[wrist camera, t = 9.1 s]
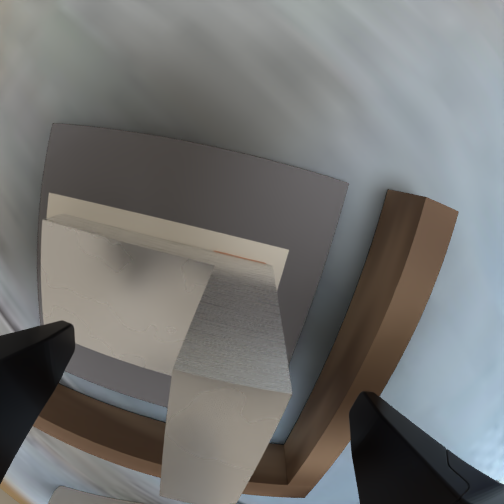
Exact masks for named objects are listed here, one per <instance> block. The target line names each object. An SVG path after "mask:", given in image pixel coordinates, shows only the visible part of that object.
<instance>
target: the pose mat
mask: <svg viewBox="0 0 504 504" xmlns="http://www.w3.org/2000/svg"><path fill="white" fill-rule="evenodd" d="M348 185H349V183H347V182H343V181H340V180H337V179H334V178H331V177H328V176H324V175H321V174H318V173H314V172H311V171H308V170H304V169H301V168H297V167H294V166H290V165H286V164H283V163H279V162H275V161H271V160H268V159H264V158H260V157H256V156H252V155H248V154H244V153H239V152H235V151H231V150H226V149H222V148H217V147H213V146H208V145H203V144H198V143H193V142H188V141H183V140H178V139H172V138H167V137H161V136H155V135H149V134H143V133H136V132H130V131H123V130H115V129H108V128H100V127H91V126H81V125H71V124H60V123H53V124H52V128H51V133H50V138H49V143H48V148H47V154H46V160H45V166H44V173H43V180H42V188H41V198H40V208H39V222H38V244H37V279H38V301H39V315H40V326H41V325H44V322H43V310H42V293H41V234H42V220H43V219H46V218H49V217H53V216H56V215H59V214H67V215H71V216H75V217H79V218H83V219H87V220H90V221H94V222H98V223H102V224H106V225H110V226H114V227H118V228H122V229H126V230H130V231H134V232H138V233H142V234H146V235H150V236H154V237H158V238H162V239H166V240H170V241H174V242H178V243H182V244H186V245H190V246H194V247H198V248H202V249H206V250H210V251H214V252H218V253H222V254H226V255H230V256H234V257H238V258H243V259H247V260H251V261H255V262H259V263H263V264H267V265H271V266H273V272H274V278H275V284H276V291H277V297H278V303H279V309H280V316H281V322H282V328H283V335H284V341H285V348H286V354H287V361H288V365H289V362H290V360H291V357H292V355H293V352H294V350H295V347H296V344H297V342H298V339H299V337H300V334H301V331H302V328H303V326H304V323H305V320H306V318H307V315H308V312H309V309H310V306H311V304H312V301H313V298H314V295H315V292H316V289H317V286H318V283H319V280H320V277H321V274H322V271H323V268H324V265H325V262H326V259H327V256H328V253H329V250H330V247H331V243H332V240H333V237H334V234H335V230H336V227H337V224H338V220H339V217H340V214H341V210H342V207H343V203H344V200H345V196H346V192H347V189H348ZM65 371H66V372H68V373H70V374H73V375H75V376H77V377H80V378H82V379H85V380H87V381H90V382H92V383H95V384H97V385H100V386H103V387H105V388H108V389H111V390H113V391H116V392H119V393H122V394H125V395H128V396H131V397H134V398H137V399H140V400H143V401H147V402H150V403H153V404H157V405H160V406H164V407H167V408H168V401H169V393H170V386H171V378H172V376H170V375H167V374H163V373H160V372H156V371H153V370H150V369H146V368H143V367H140V366H137V365H134V364H131V363H128V362H125V361H122V360H119V359H116V358H113V357H110V356H107V355H105V354H102V353H99V352H97V351H94V350H91V349H89V348H86V347H84V346H81V345H79V344H76V343H75V351H74V354H73V356H72V358H71V359H70V361H69V363H68V365H67V367H66V369H65Z"/></svg>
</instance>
